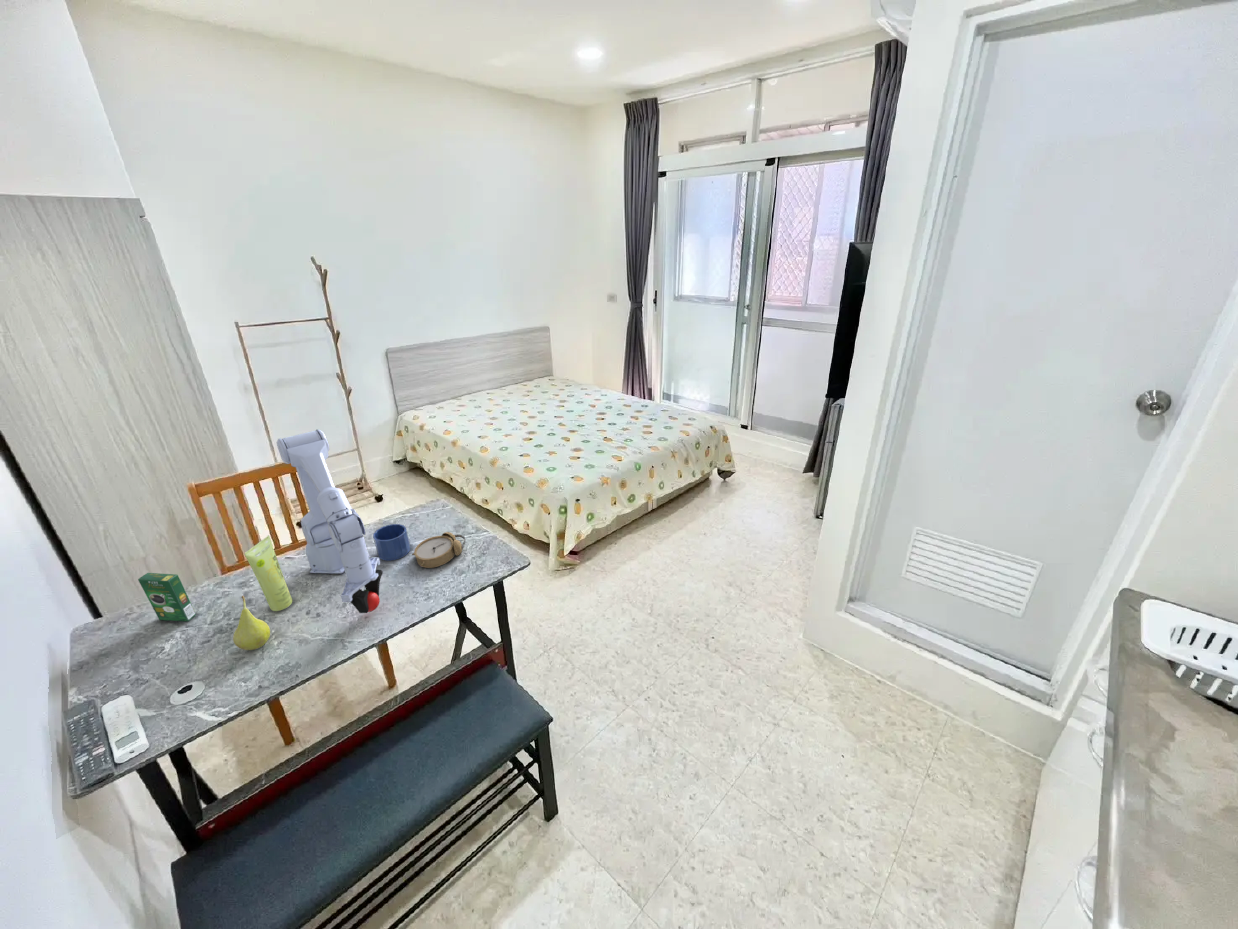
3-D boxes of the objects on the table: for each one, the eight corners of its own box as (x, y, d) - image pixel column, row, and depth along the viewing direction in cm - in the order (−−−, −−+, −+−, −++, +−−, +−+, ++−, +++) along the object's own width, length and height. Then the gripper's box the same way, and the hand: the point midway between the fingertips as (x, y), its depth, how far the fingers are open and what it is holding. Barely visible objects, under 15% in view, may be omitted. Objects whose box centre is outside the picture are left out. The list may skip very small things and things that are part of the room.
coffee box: (199, 614, 123) (178, 573, 117) (189, 622, 120) (167, 580, 115) (169, 612, 123) (147, 571, 118) (158, 621, 121) (135, 579, 115)
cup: (372, 560, 143) (367, 540, 140) (386, 542, 151) (382, 523, 148) (402, 561, 142) (397, 541, 139) (415, 543, 151) (411, 524, 148)
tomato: (355, 616, 120) (350, 597, 118) (366, 602, 125) (360, 584, 122) (375, 616, 120) (370, 598, 118) (385, 602, 125) (380, 584, 122)
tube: (293, 608, 125) (269, 545, 116) (270, 616, 122) (243, 553, 114) (292, 595, 129) (269, 534, 120) (270, 603, 127) (244, 541, 118)
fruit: (237, 661, 109) (218, 621, 104) (241, 639, 115) (223, 600, 110) (272, 649, 112) (255, 610, 107) (275, 629, 118) (258, 590, 113)
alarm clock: (407, 547, 143) (454, 522, 151) (413, 559, 146) (459, 534, 153) (421, 565, 136) (469, 538, 143) (427, 578, 138) (474, 550, 146)
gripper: (356, 580, 109) (370, 626, 115) (386, 543, 122) (397, 585, 128) (326, 580, 110) (341, 625, 115) (359, 543, 123) (371, 585, 129)
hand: (369, 604), depth 122 cm, fingers closed on tomato, 5 cm apart
